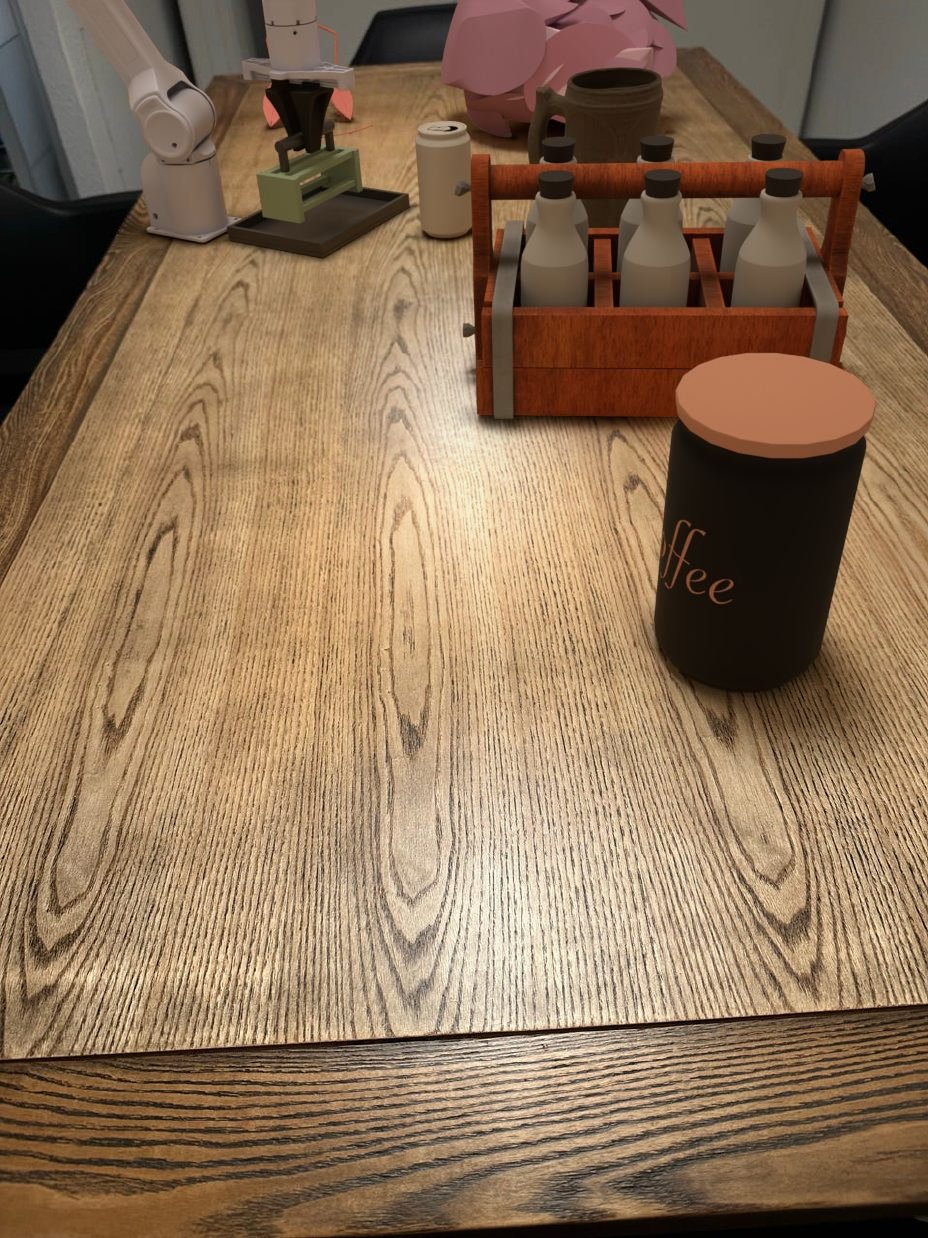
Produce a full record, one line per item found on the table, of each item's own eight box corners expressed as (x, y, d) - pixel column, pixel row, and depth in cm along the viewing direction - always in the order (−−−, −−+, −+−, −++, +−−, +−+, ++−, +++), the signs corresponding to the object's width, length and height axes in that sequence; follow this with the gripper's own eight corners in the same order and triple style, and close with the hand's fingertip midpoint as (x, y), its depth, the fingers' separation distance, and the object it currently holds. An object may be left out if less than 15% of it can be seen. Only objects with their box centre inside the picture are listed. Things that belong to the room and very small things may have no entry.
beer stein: (673, 256, 122) (677, 61, 109) (645, 292, 114) (645, 87, 102) (547, 249, 128) (537, 64, 115) (512, 283, 120) (497, 88, 108)
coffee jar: (636, 600, 74) (656, 358, 62) (789, 587, 74) (835, 345, 63) (673, 707, 66) (703, 452, 54) (844, 692, 66) (909, 435, 55)
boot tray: (228, 240, 131) (226, 226, 130) (320, 192, 144) (318, 179, 143) (323, 258, 126) (321, 243, 124) (409, 206, 138) (408, 193, 137)
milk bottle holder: (471, 321, 110) (464, 120, 98) (820, 322, 107) (858, 114, 95) (451, 422, 94) (439, 197, 82) (861, 427, 91) (914, 193, 79)
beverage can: (467, 241, 128) (464, 134, 120) (415, 239, 129) (408, 133, 121) (478, 222, 133) (474, 119, 125) (427, 220, 134) (421, 118, 126)
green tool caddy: (262, 216, 128) (250, 141, 123) (326, 184, 136) (318, 113, 131) (300, 223, 126) (289, 147, 120) (362, 190, 134) (355, 117, 129)
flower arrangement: (653, 139, 173) (678, -68, 160) (693, 150, 153) (724, -86, 140) (437, 129, 170) (444, -83, 157) (448, 139, 149) (456, -104, 136)
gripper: (216, 23, 119) (237, 152, 127) (322, 32, 113) (337, 167, 122) (256, 11, 123) (274, 136, 132) (360, 19, 118) (372, 149, 126)
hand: (307, 150), depth 127 cm, fingers closed on green tool caddy
